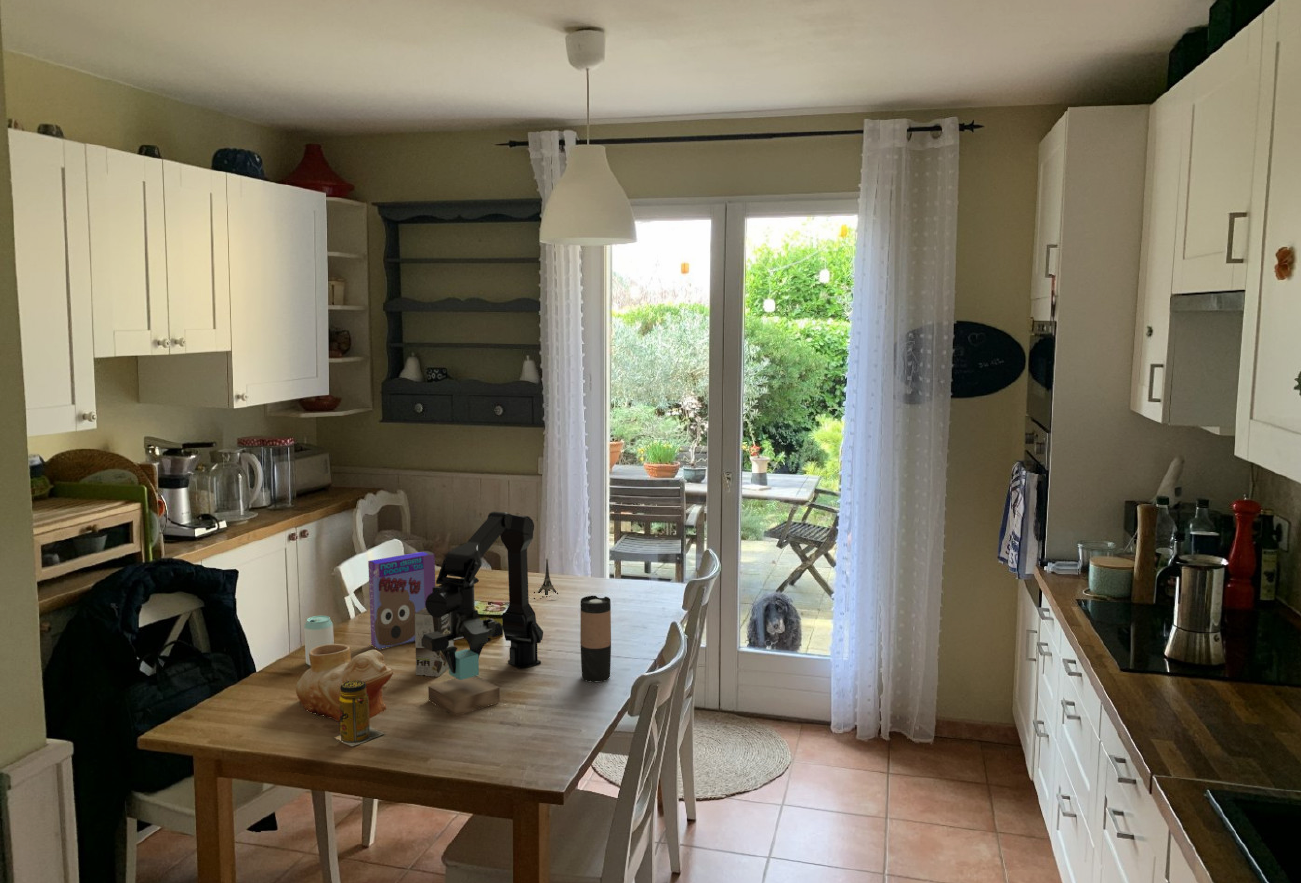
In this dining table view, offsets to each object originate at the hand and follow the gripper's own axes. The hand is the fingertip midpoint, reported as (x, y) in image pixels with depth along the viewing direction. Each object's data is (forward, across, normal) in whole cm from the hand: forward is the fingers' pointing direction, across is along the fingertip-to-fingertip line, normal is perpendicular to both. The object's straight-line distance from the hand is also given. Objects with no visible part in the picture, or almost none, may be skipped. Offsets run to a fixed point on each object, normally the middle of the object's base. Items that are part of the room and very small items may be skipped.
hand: (463, 670), depth 230 cm
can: (+8, -15, +47) cm, 50 cm away
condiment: (+8, -27, -2) cm, 28 cm away
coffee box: (+8, +5, +23) cm, 25 cm away
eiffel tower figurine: (+9, +67, +62) cm, 91 cm away
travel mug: (+8, +33, -8) cm, 35 cm away
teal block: (+1, 0, 0) cm, 1 cm away
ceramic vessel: (+8, -23, +14) cm, 28 cm away
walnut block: (+8, 0, 0) cm, 8 cm away
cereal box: (+8, +10, +49) cm, 51 cm away
